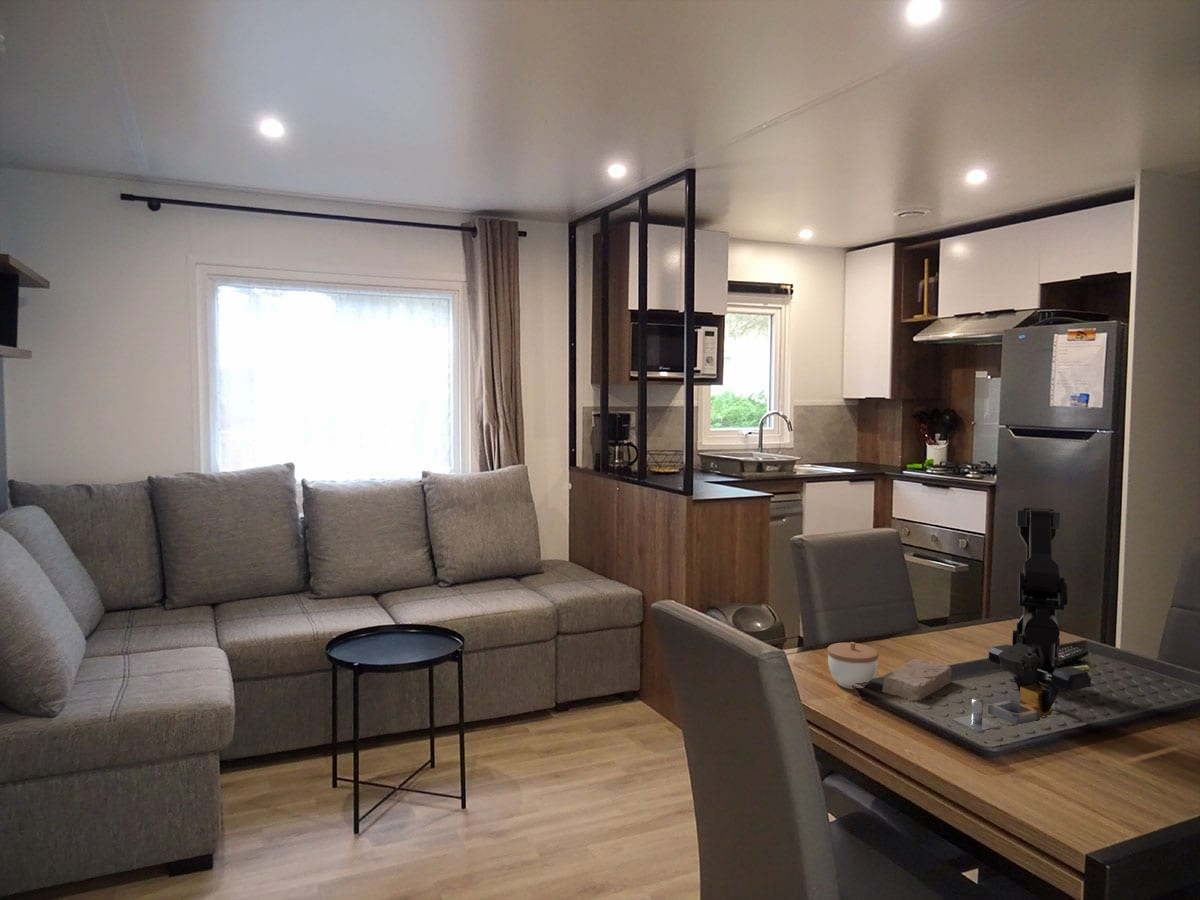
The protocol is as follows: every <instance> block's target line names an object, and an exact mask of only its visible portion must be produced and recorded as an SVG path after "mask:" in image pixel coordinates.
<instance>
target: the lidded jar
mask: <svg viewBox="0 0 1200 900" xmlns="http://www.w3.org/2000/svg"><path fill="white" fill-rule="evenodd" d="M878 659H879V652H878V650H877V649H875V648H874V647H872V646H869V645H867V644H862V643H856V642H854V641H851V642H837V643H831V644H830V645H828V647H827V663H828V670H829V672H830V674H831V677H832V678H833V679H834V680H835V681H836V682H837V685H839V686H840V687H841V688H845V689H849V690H854V689H853V688H852V685H853V684H854V683H863V682H868V681H870V680H872V679H873V680H874V678H875V676H876V674H877V669H878ZM873 680H872V681H873Z"/></svg>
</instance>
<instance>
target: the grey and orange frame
mask: <svg viewBox="0 0 1200 900" xmlns="http://www.w3.org/2000/svg"><path fill="white" fill-rule="evenodd" d="M1042 695H1043V687H1041V686H1039V685H1036V684H1031V685H1026V686H1021V687H1020V693H1019V696H1020V703H1018V702H1016V701H1014V700H1008V701H1003V702H999V703H994V704H989V706H988V714H991V715H993V716H995V717H998V718H1000V719H1003V720H1005V721H1007V722H1010V723H1012V724H1015V725H1018V724H1023V723H1028V722H1033V721H1039V720H1040V717H1042V716H1047V715H1051V713H1052V711H1055V710H1056V702H1054V703H1053V705H1052V706H1051V708H1050V710H1049V711H1048V712H1046V713H1044V712H1043V710H1042ZM1012 712H1014V713H1012ZM1015 713H1017V714H1015Z"/></svg>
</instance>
